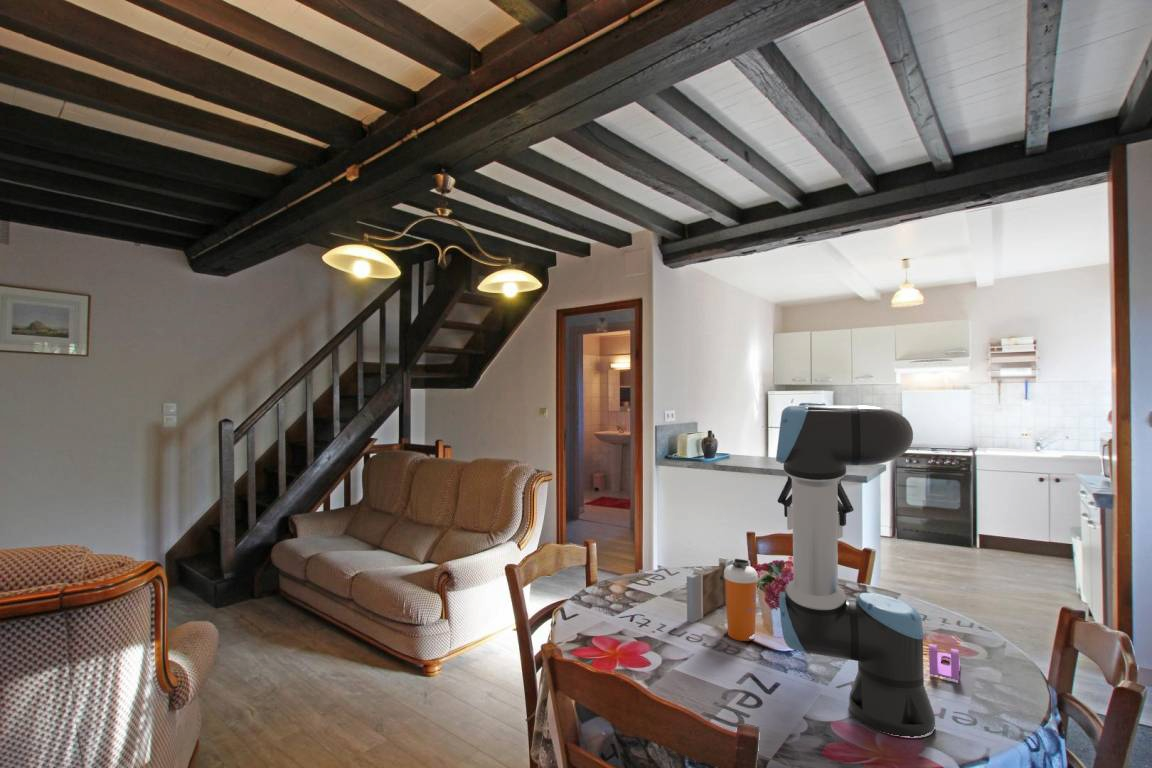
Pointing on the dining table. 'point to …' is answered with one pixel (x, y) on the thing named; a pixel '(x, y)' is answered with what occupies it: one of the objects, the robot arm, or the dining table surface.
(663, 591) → the dining table surface
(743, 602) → the shaker bottle
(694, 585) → the wall
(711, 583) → the door
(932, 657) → the bracket
